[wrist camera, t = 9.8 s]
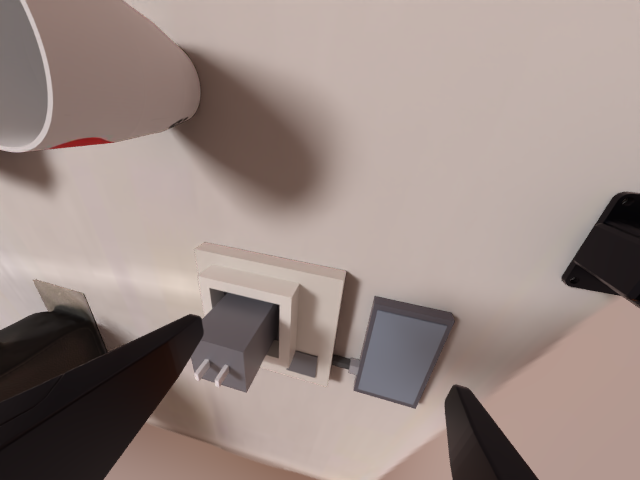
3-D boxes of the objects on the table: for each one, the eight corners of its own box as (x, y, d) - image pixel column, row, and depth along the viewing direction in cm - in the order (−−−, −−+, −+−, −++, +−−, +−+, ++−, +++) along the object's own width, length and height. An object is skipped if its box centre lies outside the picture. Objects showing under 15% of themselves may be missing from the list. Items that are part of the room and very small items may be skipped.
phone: (451, 312, 20) (455, 322, 19) (414, 398, 25) (415, 409, 24) (374, 296, 21) (374, 304, 20) (354, 381, 26) (353, 391, 25)
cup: (121, 112, 19) (-96, 96, 11) (126, -13, 16) (-205, -198, 7) (206, 161, 19) (60, 186, 11) (232, 48, 16) (38, -60, 7)
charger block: (277, 297, 21) (233, 367, 15) (277, 333, 23) (238, 408, 17) (232, 287, 22) (172, 349, 16) (236, 322, 24) (184, 390, 18)
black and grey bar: (360, 360, 25) (359, 367, 24) (358, 367, 25) (358, 375, 24) (334, 353, 25) (332, 360, 24) (333, 360, 26) (331, 368, 25)
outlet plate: (346, 270, 21) (340, 295, 18) (329, 374, 27) (323, 406, 24) (204, 242, 23) (177, 259, 20) (219, 343, 29) (199, 368, 26)
